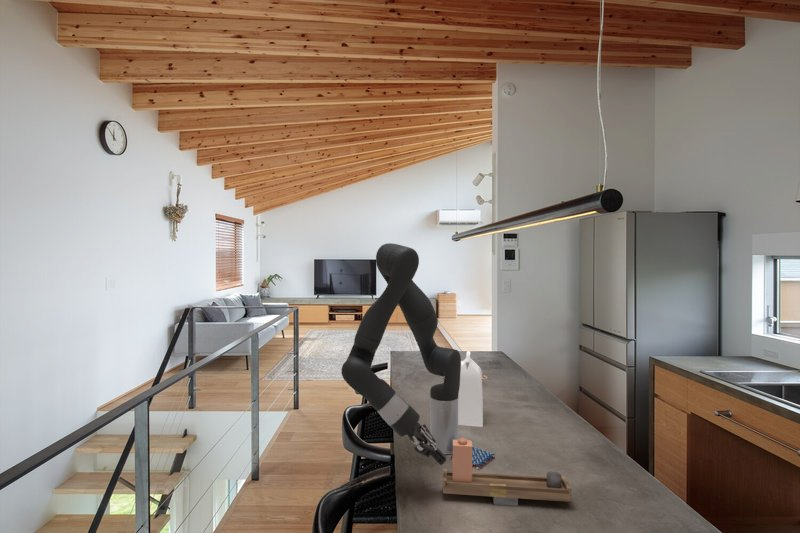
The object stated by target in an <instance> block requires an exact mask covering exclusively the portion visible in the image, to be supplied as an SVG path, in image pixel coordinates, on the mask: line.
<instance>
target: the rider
mask: <svg viewBox="0 0 800 533" xmlns="http://www.w3.org/2000/svg"><path fill="white" fill-rule="evenodd" d="M472 447H473V442H472V440H469V439H467V438H466V437H460V436H459V437H458V440H453V453H452V455H453V458H452V459H453V460H452V471H453V475H452V477H453V482H468V483H472V473H473V467H472Z"/></svg>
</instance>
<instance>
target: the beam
mask: <svg viewBox="0 0 800 533" xmlns="http://www.w3.org/2000/svg"><path fill="white" fill-rule="evenodd" d="M452 475H453V470H452V471H451V470H448V469H447V468H443V469H442V493H443V494H446V495H447V494H448V495H449V494H450V495H461V496H462V495H466V496H479V497H492V501H493V505H500V506H514V507H519V499H523V500H524V499H525V500H538V501H539V500H540V501H541V500H542V501H552V502H553V501H554V502H555V501H556V502H568V503H571V502H572V487H571V485H570V483H569V481H568V480H567V478H566V476H565V475H562V474H560V473H559V472H557V471H547V473H546V476H536V475H535V476H534V475H532V476H531V475H520V474H519V475H517V474H515V475H514V474H499V473H485V472H472V483H468V482H453V477H452Z"/></svg>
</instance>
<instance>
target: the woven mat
mask: <svg viewBox="0 0 800 533" xmlns="http://www.w3.org/2000/svg"><path fill="white" fill-rule="evenodd" d="M450 458H451V461H453V454H451V456H450ZM494 459H495V453H492V452H489V451H487V450H483V449H480V448H478V447H475V446H472V469H476V470H480V469H482V468H483V467H484V466H486V465H487V464H488V463H489V462H490V461H492V460H494Z"/></svg>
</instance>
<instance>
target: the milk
mask: <svg viewBox="0 0 800 533" xmlns="http://www.w3.org/2000/svg"><path fill="white" fill-rule="evenodd" d="M465 355H466V356H465V358H464V359H463V360H461V372H460V388H459V393H458V426H467V427H468V426H469V427H479V428H483V426H484V406H483V405H484V404H483V401H484V399H483V370H482V368H481V366H479V365H478V363H476V362H475V361H474V360H473V359H472V358H471V350H470V351H469V350H467V351H466V354H465Z"/></svg>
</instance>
